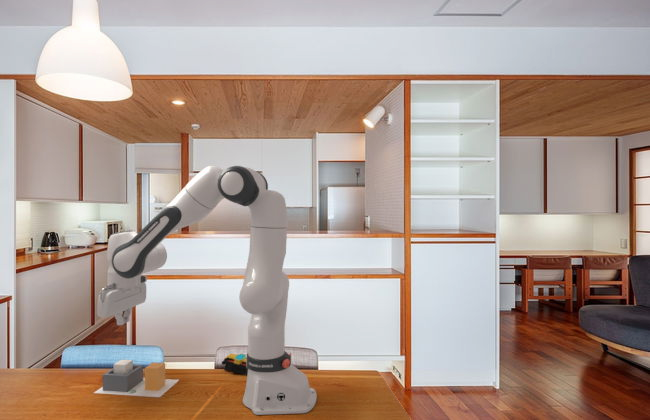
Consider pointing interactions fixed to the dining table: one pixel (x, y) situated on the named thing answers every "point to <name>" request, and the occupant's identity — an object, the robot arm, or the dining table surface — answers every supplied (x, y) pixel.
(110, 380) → the breaker panel
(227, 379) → the dining table surface
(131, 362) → the button
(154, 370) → the orange rectangular block
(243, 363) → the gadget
